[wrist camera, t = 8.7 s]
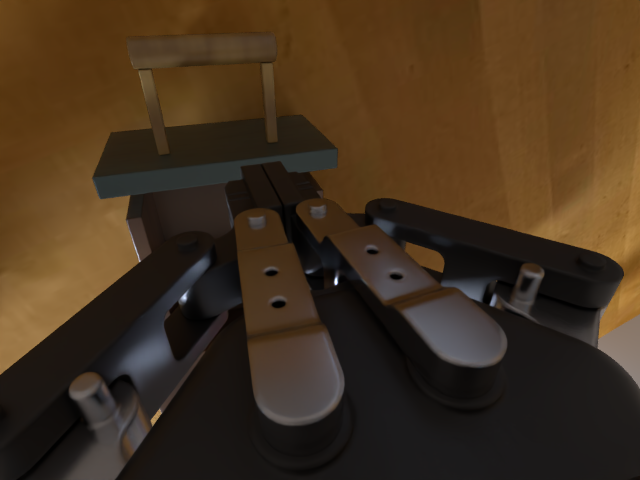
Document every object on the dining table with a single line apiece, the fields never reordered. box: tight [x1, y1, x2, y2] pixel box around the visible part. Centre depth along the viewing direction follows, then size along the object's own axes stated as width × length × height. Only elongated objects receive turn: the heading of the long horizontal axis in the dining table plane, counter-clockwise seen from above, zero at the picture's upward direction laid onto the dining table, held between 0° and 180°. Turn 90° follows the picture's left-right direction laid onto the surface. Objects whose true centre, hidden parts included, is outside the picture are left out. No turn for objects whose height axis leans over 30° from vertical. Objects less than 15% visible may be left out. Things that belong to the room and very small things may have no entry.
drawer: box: [92, 32, 338, 340], centre depth 26 cm, size 22×13×7 cm, turn 0°
